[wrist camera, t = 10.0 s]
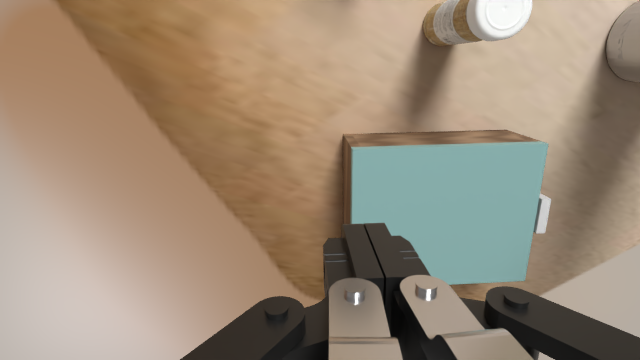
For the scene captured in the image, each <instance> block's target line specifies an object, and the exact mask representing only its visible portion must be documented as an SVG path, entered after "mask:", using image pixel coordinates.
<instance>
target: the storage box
mask: <svg viewBox="0 0 640 360" xmlns="http://www.w3.org/2000/svg"><path fill="white" fill-rule="evenodd" d="M536 141H538V140H535V139H532V138H529V137H526V136H523V135H520V134H517V133H514V132H511V131H508V130H484V131H448V132H412V133H375V134H343V224H350V211H351V147H371V146H404V145H437V144H470V143H503V142H536Z"/></svg>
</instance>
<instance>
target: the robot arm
mask: <svg viewBox="0 0 640 360" xmlns="http://www.w3.org/2000/svg"><path fill="white" fill-rule="evenodd" d="M606 53H607V60H608V63H609V66H610V68H611V69H612V71H613V72H614V73H615V74H616V75H617V76H618V77H620V78H622V79H624V80H627V81H632V82H640V1H638V2H636V3H634V4H633V5H631V6H630V7H628V8H627V9H626V10H625V11H624V12H623V13H622V14H621V15H620V16H619V18H618V19H617V20H616V22H615V23H614V25H613V27H612V29H611V31H610V33H609V37H608V40H607V47H606ZM323 256H324V288H325V298H324V299H323V300H322V301H321V302H319V303H317V304H315V305H312V306H310V307H306V308H304V307H303V305H302V304H301V303H300V302H299V301H297V300H295V299H293V298H290V297H283V296H278V297H271V298H267V299H264V300H262V301H260V302H258V303H257V304H256V305H254V306H253V307H251V308H250V309H249V310H247V311H246V312H245V313H243V314H242V315H241V316H239V317H238V318H236V319H235V320H234V321H232V322H231V323H230V324H228V325H227V326H225V327H224V328H223V329H221V330H220V331H219V332H217V333H216V334H214V335H213V336H212V337H211V338H209V339H208V340H206V341H205V342H204V343H203V344H201V345H199V346H198V347H197V348H195V349H194V350H193V351H191V352H190V353H189V354H187V355H186V356H184V357H183V358H182V359H180V360H538V356H539V352H541V353H543V354H545V355H547V356H549V357H551V358H553V359H555V360H640V338H639V337H637V336H634V335H632V334H629V333H627V332H624V331H622V330H620V329H617V328H615V327H612V326H610V325H607V324H605V323H602V322H600V321H598V320H595V319H593V318H590V317H588V316H585V315H583V314H580V313H578V312H576V311H573V310H571V309H568V308H566V307H564V306H561V305H559V304H556V303H554V302H551V301H549V300H546V299H544V298H542V297H539V296H537V295H534V294H532V293H529V292H527V291H524V290H521V289H518V288H513V287H495V288H492V289H490V290H489V291H488V292H487V294H486V300H485V302H484V301H478V300H471V299H465V298H460V297H458V295H457V294H456V293H455V292H454V290H453V289H452V288H451V287H450V286H449V285H448V284H447V283H446V282H444V281H443V280H441V279H439V278H436V277H433V276H431V275H430V274H429V272H428V270H427V269H426V267H425V265H424V264H423V262H422V261H421V259H420V258H419V256H418V254H417V252H415V249H414V248H413V246H412V244H411V243H410V242H409V241H408V240H406V239H405V238H403V237H402V236H400V235H399V236H391V234H390V232H389V230H388V228H387V226H386V225H385V223H364V224H342V228H341V238H328V240H327V241H326V243H325V244H324V245H323Z"/></svg>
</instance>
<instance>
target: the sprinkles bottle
mask: <svg viewBox="0 0 640 360" xmlns="http://www.w3.org/2000/svg"><path fill="white" fill-rule="evenodd" d="M531 10H532V0H447V1H446V2H443V3H440V4H437V5H435V6H434V7H432V8H431V9H430V10H429V11H428V13H427V15H426V17H425V19H424V24H423V30H424V34H425V36H426V38H427V39H428V40H429V41H430V42H431V43H433V44H434V45H437V46H446V45H449V44H461V43H470V42H478V41H481V40H485V41H497V40H503V39H507V38H510V37H512V36H514V35H515V34H517V33H518V32H519V31H520V30H521V29H522V28H523V27H524V26H525V24H526V23H527V21H528V19H529V17H530V14H531Z"/></svg>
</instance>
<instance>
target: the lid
mask: <svg viewBox="0 0 640 360" xmlns="http://www.w3.org/2000/svg"><path fill="white" fill-rule="evenodd" d="M547 150H548V143H545V142H542V141H536V142H503V143H470V144H437V145H404V146H371V147H351V211H350V224H364V223H385V225H386V226H387V228H388V230H389V232H390V234H391V236H399V235H400V236H402V237H403V238H405V239H406V240H408V241H409V242H410V243H411V244H412V246H413V248H414V249H415V252H417V254H418V256H419V258H420V259H421V261H422V262H423V264H424V265H425V267H426V269H427V270H428V272H429V274H430V275H431V276H433V277H436V278H439V279H441V280H443V281H444V282H446V283H447V284H448V285H452V284H472V283H492V282H512V281H525V277H526V271H527V265H528V260H529V254H530V248H531V242H532V236H533V232H535V233H536V234H538V233H545V231H546V225H547V220H548V215H549V209H550V204H551V199H550V198H549V197H547V196H545V195H543V194H541V193H540V190H541V184H542V179H543V173H544V167H545V161H546V155H547Z"/></svg>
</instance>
